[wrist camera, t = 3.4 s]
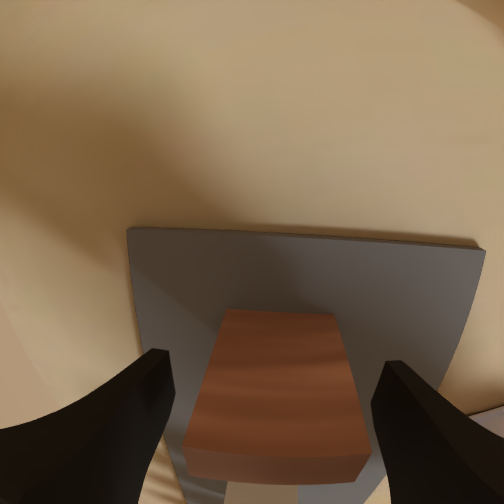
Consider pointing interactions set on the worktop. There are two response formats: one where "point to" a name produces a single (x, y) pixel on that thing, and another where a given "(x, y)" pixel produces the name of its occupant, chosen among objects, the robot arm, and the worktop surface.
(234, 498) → the ivory domino
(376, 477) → the charcoal mat
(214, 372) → the terracotta domino
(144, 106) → the worktop surface
